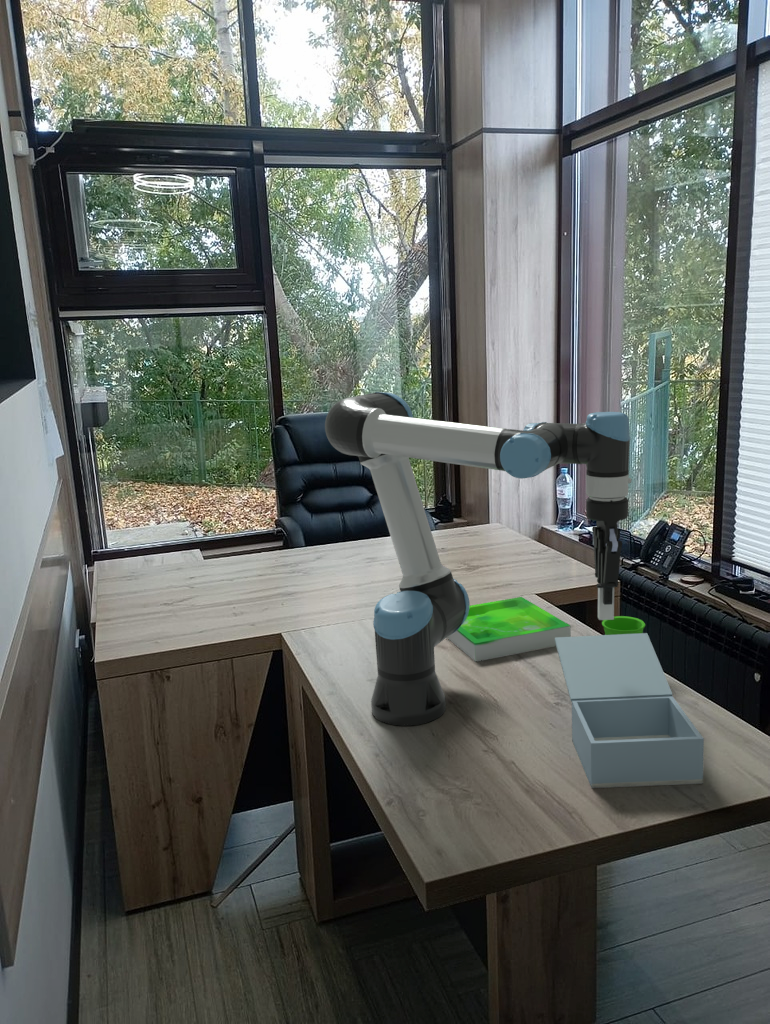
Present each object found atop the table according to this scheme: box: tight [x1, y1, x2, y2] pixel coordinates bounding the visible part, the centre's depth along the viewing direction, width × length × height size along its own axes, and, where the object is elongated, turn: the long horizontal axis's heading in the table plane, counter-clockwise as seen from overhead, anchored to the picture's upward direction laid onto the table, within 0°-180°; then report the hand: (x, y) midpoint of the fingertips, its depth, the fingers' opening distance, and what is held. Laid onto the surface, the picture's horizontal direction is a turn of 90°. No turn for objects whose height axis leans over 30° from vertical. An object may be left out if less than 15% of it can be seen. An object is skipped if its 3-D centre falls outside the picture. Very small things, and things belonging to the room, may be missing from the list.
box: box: [571, 695, 705, 789], centre depth 139 cm, size 18×16×8 cm
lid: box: [555, 632, 673, 703], centre depth 154 cm, size 18×17×1 cm
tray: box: [446, 596, 572, 662], centre depth 202 cm, size 25×25×5 cm
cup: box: [601, 615, 646, 635], centre depth 176 cm, size 9×9×11 cm
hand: (605, 618), depth 154 cm, fingers closed
